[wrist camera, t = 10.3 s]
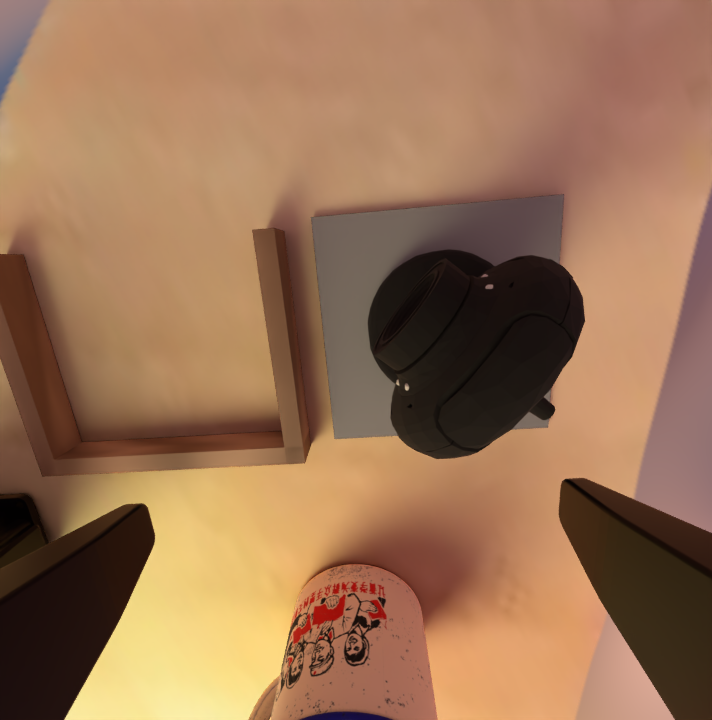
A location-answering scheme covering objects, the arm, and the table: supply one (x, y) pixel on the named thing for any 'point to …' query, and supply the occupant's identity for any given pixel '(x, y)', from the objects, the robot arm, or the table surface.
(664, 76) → the table surface
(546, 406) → the webcam
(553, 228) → the mat
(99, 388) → the table surface
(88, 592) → the robot arm
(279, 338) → the holder
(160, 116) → the table surface
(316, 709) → the teacup with lid
